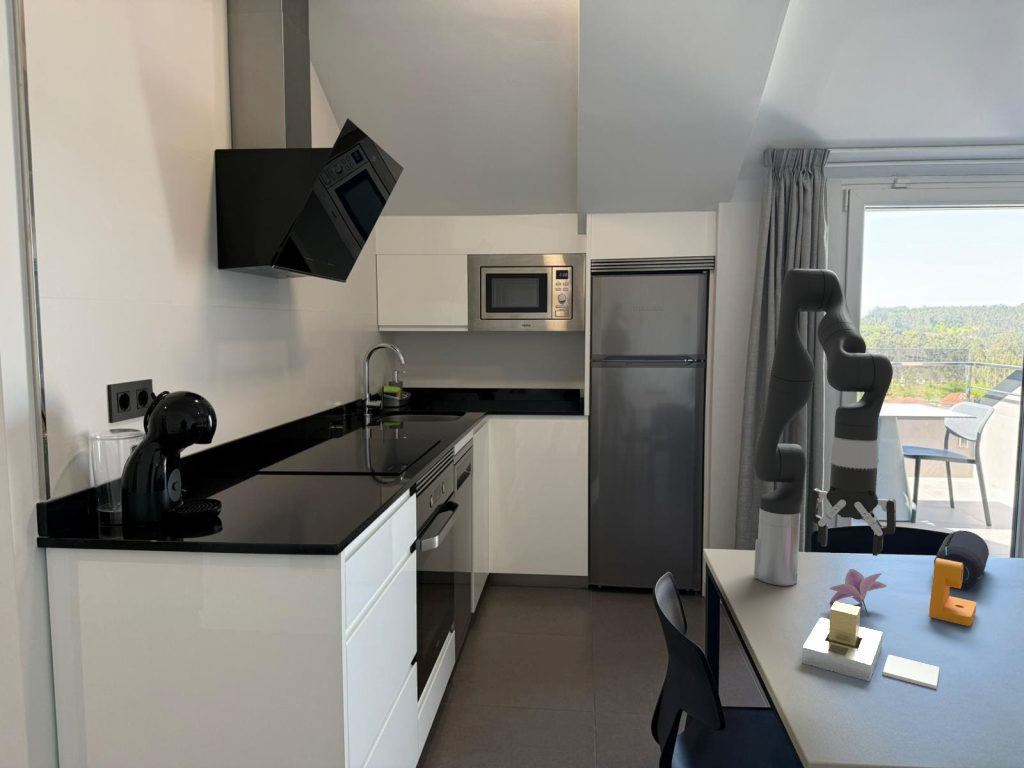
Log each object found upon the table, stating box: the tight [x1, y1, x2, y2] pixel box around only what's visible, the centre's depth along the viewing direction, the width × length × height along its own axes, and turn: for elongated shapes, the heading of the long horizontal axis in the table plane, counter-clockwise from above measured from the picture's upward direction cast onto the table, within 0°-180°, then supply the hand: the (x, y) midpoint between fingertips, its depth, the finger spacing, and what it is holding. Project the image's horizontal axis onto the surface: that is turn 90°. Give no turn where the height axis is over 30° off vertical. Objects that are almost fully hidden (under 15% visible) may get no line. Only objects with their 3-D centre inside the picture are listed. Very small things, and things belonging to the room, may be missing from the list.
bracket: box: [928, 558, 977, 627], centre depth 144 cm, size 11×7×12 cm, turn 140°
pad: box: [882, 653, 940, 690], centre depth 120 cm, size 8×8×1 cm
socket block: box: [801, 617, 884, 683], centre depth 126 cm, size 11×16×3 cm
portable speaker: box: [933, 530, 990, 590], centre depth 168 cm, size 25×10×10 cm, turn 142°
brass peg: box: [829, 601, 862, 649], centre depth 126 cm, size 4×4×9 cm
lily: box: [828, 568, 887, 618], centre depth 147 cm, size 12×12×10 cm
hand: (849, 550), depth 125 cm, fingers open, 8 cm apart
